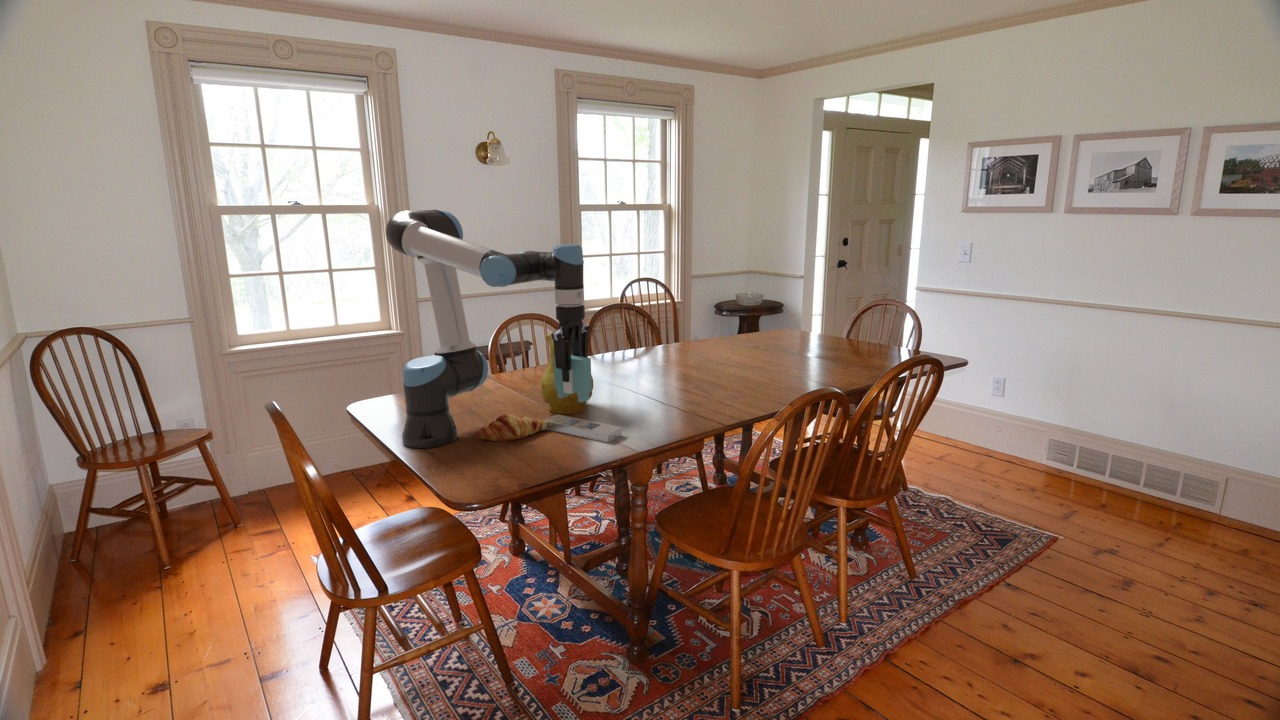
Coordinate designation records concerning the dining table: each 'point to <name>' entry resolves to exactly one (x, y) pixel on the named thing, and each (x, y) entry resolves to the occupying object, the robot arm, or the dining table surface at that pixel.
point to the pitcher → (550, 393)
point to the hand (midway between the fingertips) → (573, 391)
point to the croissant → (510, 428)
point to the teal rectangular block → (576, 378)
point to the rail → (583, 428)
